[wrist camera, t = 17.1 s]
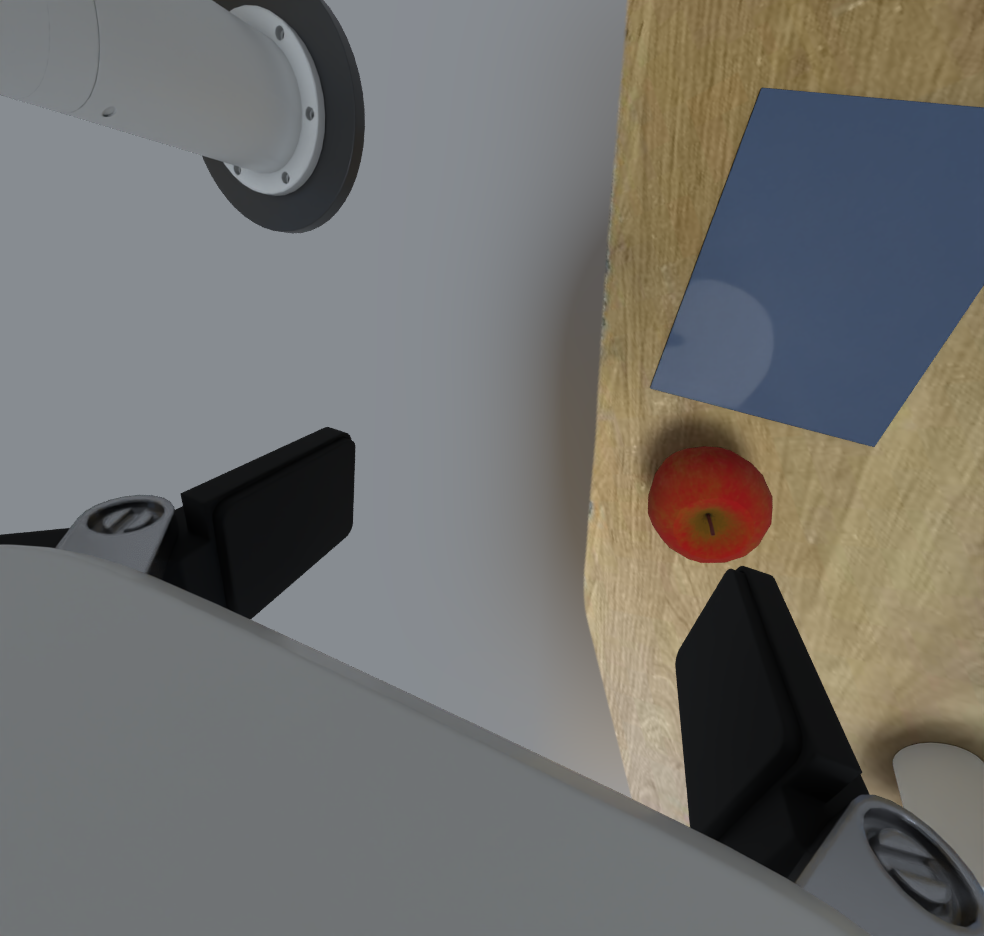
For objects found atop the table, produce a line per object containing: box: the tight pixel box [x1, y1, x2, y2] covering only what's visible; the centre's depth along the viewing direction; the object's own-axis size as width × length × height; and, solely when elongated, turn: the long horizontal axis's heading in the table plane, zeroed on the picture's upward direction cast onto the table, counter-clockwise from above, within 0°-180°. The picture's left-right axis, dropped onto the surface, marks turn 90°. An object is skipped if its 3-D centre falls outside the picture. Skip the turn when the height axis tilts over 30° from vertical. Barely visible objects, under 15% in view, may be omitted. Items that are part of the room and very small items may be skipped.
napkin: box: [650, 88, 984, 447], centre depth 29 cm, size 17×20×1 cm
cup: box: [893, 743, 984, 891], centre depth 34 cm, size 12×12×12 cm
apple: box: [648, 446, 773, 563], centre depth 32 cm, size 9×8×11 cm
